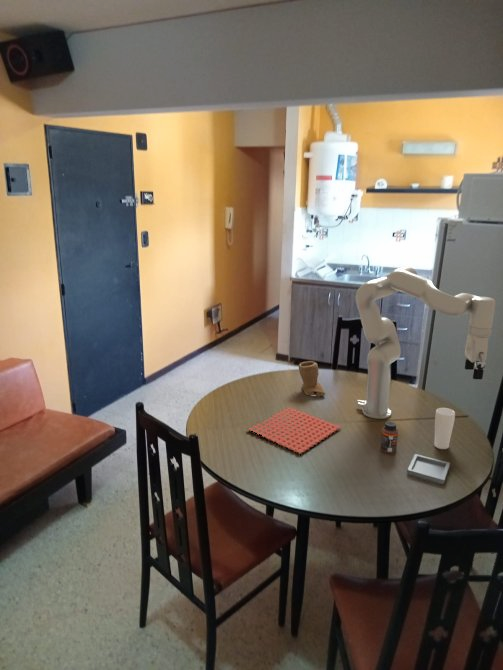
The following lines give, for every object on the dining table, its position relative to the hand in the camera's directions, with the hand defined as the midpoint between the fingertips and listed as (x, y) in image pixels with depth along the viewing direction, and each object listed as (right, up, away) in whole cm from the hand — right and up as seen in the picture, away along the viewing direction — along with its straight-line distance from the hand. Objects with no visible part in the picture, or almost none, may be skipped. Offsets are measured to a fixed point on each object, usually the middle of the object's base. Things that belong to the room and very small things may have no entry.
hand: (473, 373), depth 175 cm
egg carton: (-66, -26, +18) cm, 73 cm away
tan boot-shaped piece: (-54, -14, +55) cm, 79 cm away
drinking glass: (-10, -29, +5) cm, 31 cm away
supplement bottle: (-31, -30, +2) cm, 43 cm away
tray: (-21, -33, -11) cm, 41 cm away
